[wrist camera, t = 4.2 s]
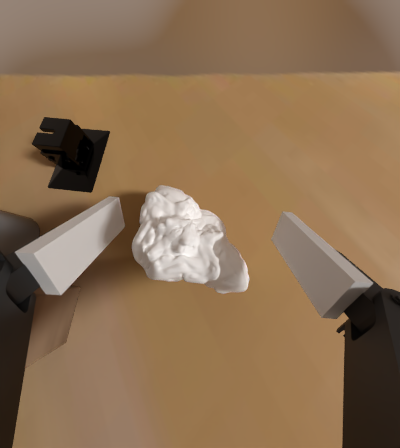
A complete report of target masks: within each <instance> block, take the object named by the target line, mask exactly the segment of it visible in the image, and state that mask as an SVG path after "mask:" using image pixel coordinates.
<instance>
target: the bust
mask: <svg viewBox="0 0 400 448" xmlns="http://www.w3.org/2000/svg"><path fill="white" fill-rule="evenodd" d="M139 222H140V224H141V225H140V227H139V230H138V232H137V234H136V235H135V237H134V239H133V242H132V252H133V256H134V259H135V260H136V261H137V262H138V263H139V264H140V265H141V266H142V267H143V268H144V270H145V272H146V275H147V277H148V278H150V279H152V280H165V281H175V282H177V281H180V280H182V279H184V281H186V282H193V283H201V284H204V285H206V286H207V287H209V288H214V289H215V291H216V292H218V293H222V294H225V293H228V292H243V291H245V290H246V289H247V288H248V282H249V276H248V273H247V272H248V269H247V266H246V263H245V261H244V259H242V258H241V254H240V252H239V251H238V249H237V248H236V247H235V246H234V245H232V244H231V243H229V241H228V238H227V237H226V229H225V226H224V224H223V222H222V221H221V220H220V218H219V217H218V216H216V215H215V214H213V213H212V212H210V211H208V210H201V209H200V208H199V205H198V204H197V203H196V202H195V201H194V200H193V199H192V197H190V196H189V195H186V194H184V192H183V191H181V190H179V189H176V188H172V187H170V186H164V185H160V186H158V187H157V188H156V190H155V192H150V193H148V194H147V195H146V198H145V203H144V204H143V205H142V207H141V212H140V221H139Z"/></svg>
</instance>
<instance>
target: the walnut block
mask: <svg viewBox="0 0 400 448" xmlns="http://www.w3.org/2000/svg"><path fill="white" fill-rule="evenodd" d="M80 288H81V287H74V286H69V287H68V289H67V290H66V291H65V292H64V293H63V294H62V295H51V294H45V292H44V291H43V290H42V288H41V287H39V288H38V289H36V290H35V291H34V293H35V294H36V303H35V309H34V315H33V322H32V328H31V334H30V340H29V346H28V353H27V359H26V365H25V368H26V367H28V366H29V365H31V364H33V363H34V362H36V361H37V360H39V359H41V358H42V357H44V356H45V355H47V354H49V353H50V352H52V351H53V350H55V349H57V348H58V347H60V346H61V345H63V344H65V343H66V341H67V337H68V334H69V330H70V326H71V322H72V318H73V315H74V311H75V307H76V303H77V300H78V296H79V292H80Z"/></svg>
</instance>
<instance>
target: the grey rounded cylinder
mask: <svg viewBox="0 0 400 448" xmlns="http://www.w3.org/2000/svg"><path fill="white" fill-rule="evenodd" d="M38 237H39V227H38V225H37V223H36V222H35V221H34V220H33V219H31V218H28V217H24V216H20V215H17V214H13V213H9V212H5V211H1V210H0V251H1V252H2V253H3V254H4V256H7V255H9V254H10V253H12V252H14V251H16V250H17V249H19V248H21V247H22V246H24V245H26V244H28V243H29V242H31V241H33V240H34V239H37V238H38Z"/></svg>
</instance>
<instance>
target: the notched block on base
mask: <svg viewBox="0 0 400 448" xmlns="http://www.w3.org/2000/svg"><path fill="white" fill-rule="evenodd" d="M40 129H41V130H42V131H43V132H53V134H48V133H37V134H36V136H35V138H34V141H33V143H32V145H34V146H35V147H36V148H38V149H39V150H41V154H42V155H43V156H45V157H46V158H48V160H50V161H52V162H54V163H55V164H56V167H55V170H54V172H53V175H52V177H51V180H50V182H49V185H48V188H54V189H63V190H72V191H81V192H90V193H91V192H92V191H93V187H94V184H95V181H96V177H97V174H98V171H99V167H100V164H101V161H102V157H103V154H104V151H105V147H106V144H107V141H108V137H109V134H110V131H102V130H90V129H81V128H80V127H79V126H78V125H75V124H74V123H73V122H72V121H71V120H69V119H58V118H48V117H44V119H43V121H42V123H41V125H40Z"/></svg>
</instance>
